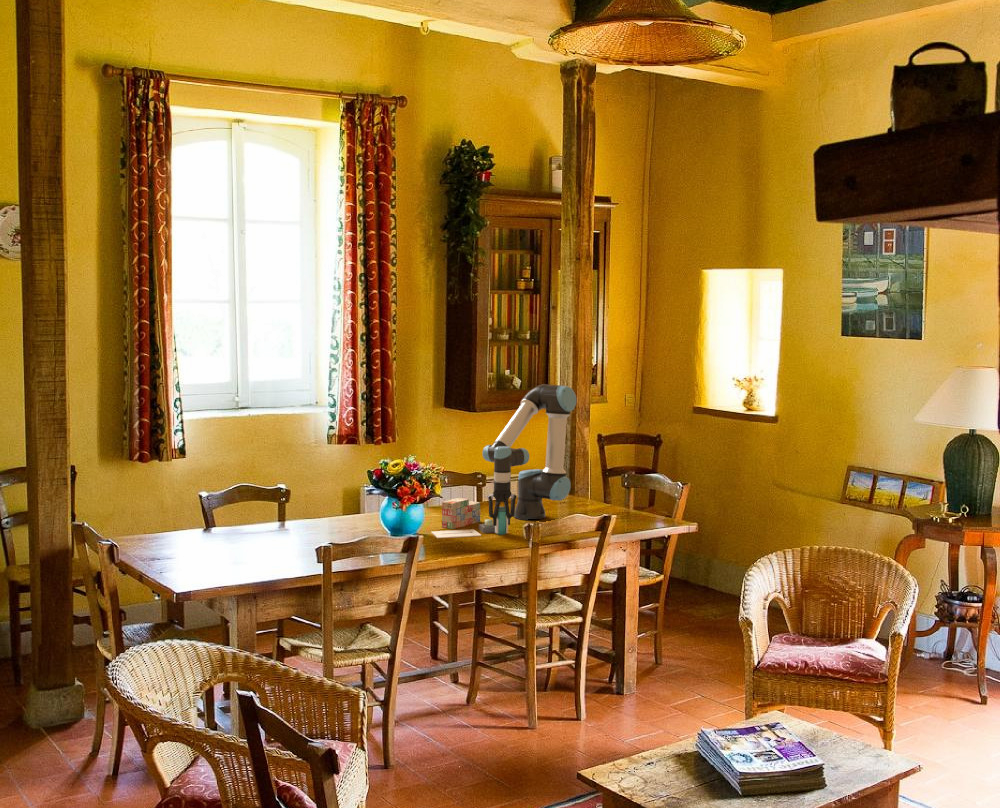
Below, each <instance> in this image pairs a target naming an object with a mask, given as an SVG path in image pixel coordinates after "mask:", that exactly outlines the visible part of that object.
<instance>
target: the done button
mask: <svg viewBox="0 0 1000 808" xmlns="http://www.w3.org/2000/svg"><path fill="white" fill-rule="evenodd" d="M484 524H485V527H489V526H492V524H493V519H492V518H490V519H488V518H487V519H486V518H485V519H484Z"/></svg>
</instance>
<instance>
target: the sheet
mask: <svg viewBox="0 0 1000 808" xmlns="http://www.w3.org/2000/svg"><path fill="white" fill-rule="evenodd" d="M430 533H431V534H432V535H433V536H434V537H436V538H437V539H447V538H448V539H451V538H467V537H468V538H469V537H471V538H472V537H482V534H481V533H479V532H478V531H477V530H475V529H474V528H473V529H472V528H471V529H457V530H456V529H455V530H454V529H450V530H437V531H435V530H434V531H430Z"/></svg>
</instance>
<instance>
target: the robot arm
mask: <svg viewBox="0 0 1000 808" xmlns="http://www.w3.org/2000/svg"><path fill="white" fill-rule="evenodd" d="M576 406H577V395H576V393H575V391H574V389H573V388H572V387H570V386H567V385H563V384H562V385H561V384H560V385H558V384H548V383H546V384H545V383H543V384H539V385H537V386H535V387H534V388H532V389H530V390H529V391H528V392H527V393H526V394H525V395H524V397H523V398H522V399H520V405H519V407H518V408H517V409H516V411H515V412H514V414H513V415H512V417H511V418H510V419H509V421H508V423H507V424H506V425H505V427H504V428H503V429H502V431H501V432H500V433H499V435H498V436H497V438H496V439H495V441H494V442H493V444H487V445H485V446H484V447H483V449H482V457H483V459H484V460H485V461H487V462H490V463H494V464H493V465H494V466H493V469H494V470H493V481H494V482H493V492H492V493H491V494H489V495H487V500H488V517H490V519H492V524H493V525H494V526H495V532H494V533H495V534H497V533H498V519H497V515H498V510H499V507H500V505H501V503H502V502H503V504H504V507H506V534H508V533H509V526H510V525H511V518H512V517H514V519H518V520H522V521H529V520H528V519H540V520H544V519H545V518H546V510H545V507H544V504H543V499H546V500H552V501H558V502H559V501H562V500H564V499H566V498H567V497H568V495H569V493H570V491H571V480H570V478H569V477H567V471H566V470H565V469H564V463H565V452H566V436H567V435H566V434H567V424H568V423H567V421H568V420H567V419H568V418H569V416H571V412H572V411H574V410H575V409H576V408H575V407H576ZM543 409H545V414H546V415H547V417H548V421H547V422H548V425H547V434H546V435H547V438H546V452H545V453H546V454H545V465H544V466H545V467H544V468H543V469H540V468H536V469H526V470H525V469H524V470H521V471H519V472H518V479H517V495H516V494H514V493H512V491H511V489H512V487H511V480H512V479H511V477H512V473H511V472H512V471H511V470H512V468H513V467H517V466H518V467H519V466H524V465H526V464H527V463H528V462H529V461H530V453H529V451H528V449H526V448H524V447H519V448H513V447H512V446H513V444H514V443H515V441H516V440H517V439H518V437H519V436H520V435H521V433H522V431H523V430H524V429H525V428H526V426H527V425H528V423H529V422H530V420H531V419H532V418H533V416H534V415H537V414H538V413H539V411H541V410H543ZM493 499H495V501H494V502H495V503H494V502H493ZM509 499H510V506H509ZM516 500H517V503H516ZM493 503H494V505H493ZM543 518H544V519H543Z"/></svg>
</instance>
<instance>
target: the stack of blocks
mask: <svg viewBox="0 0 1000 808" xmlns="http://www.w3.org/2000/svg"><path fill="white" fill-rule="evenodd" d="M476 523H481V502H478V501H472V500H470V499H469V498H462V497H456V498H452V499H449V500H443V501H442V502H441V528H442V529H443V528H445V529H450V530H454V529H455V530H456V529H457V528H462V527H465V526H469V525H472V524H476Z"/></svg>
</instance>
